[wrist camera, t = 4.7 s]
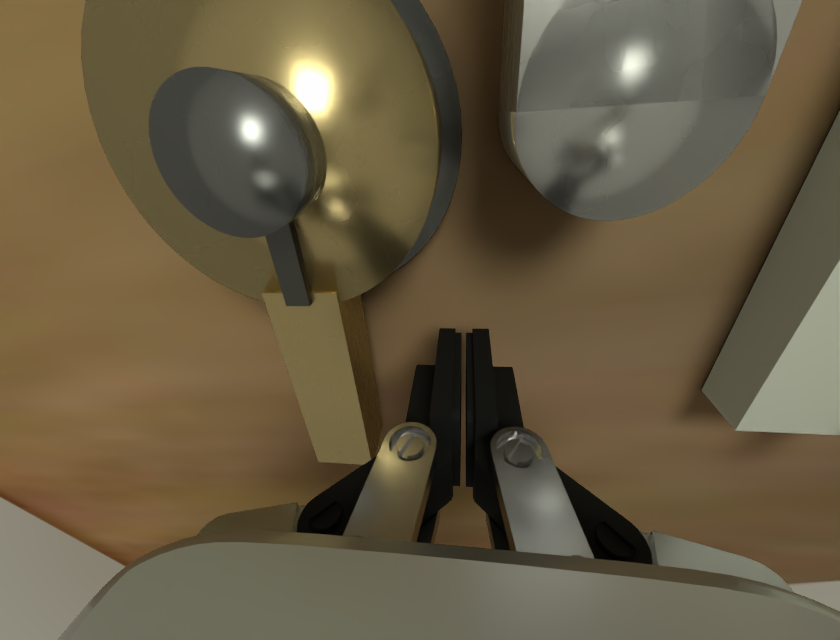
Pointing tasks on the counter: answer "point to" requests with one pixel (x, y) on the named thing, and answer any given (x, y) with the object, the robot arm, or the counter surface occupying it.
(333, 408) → the gold handled disc
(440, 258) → the counter surface
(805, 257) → the peg rest
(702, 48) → the steel bar
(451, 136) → the round gray base
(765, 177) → the counter surface
